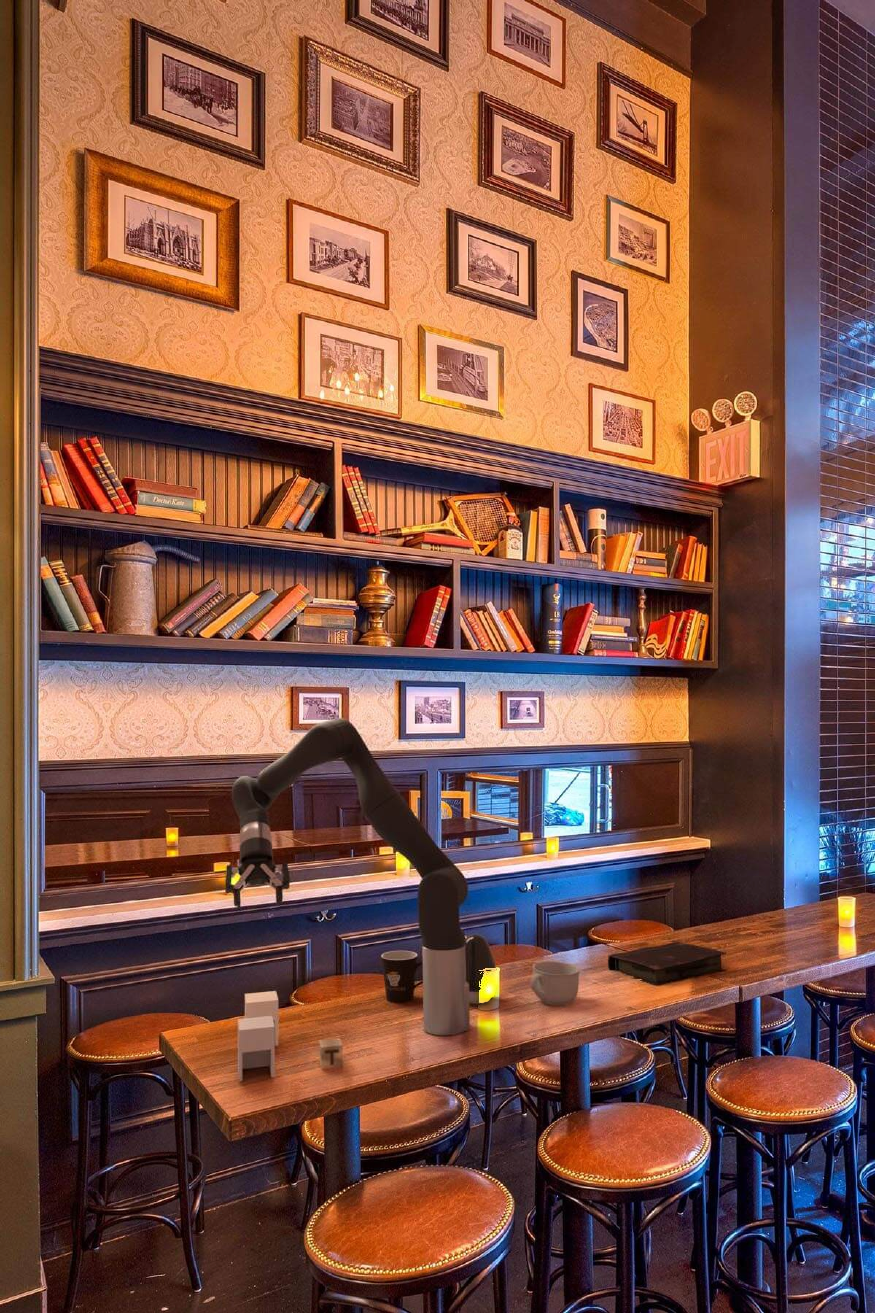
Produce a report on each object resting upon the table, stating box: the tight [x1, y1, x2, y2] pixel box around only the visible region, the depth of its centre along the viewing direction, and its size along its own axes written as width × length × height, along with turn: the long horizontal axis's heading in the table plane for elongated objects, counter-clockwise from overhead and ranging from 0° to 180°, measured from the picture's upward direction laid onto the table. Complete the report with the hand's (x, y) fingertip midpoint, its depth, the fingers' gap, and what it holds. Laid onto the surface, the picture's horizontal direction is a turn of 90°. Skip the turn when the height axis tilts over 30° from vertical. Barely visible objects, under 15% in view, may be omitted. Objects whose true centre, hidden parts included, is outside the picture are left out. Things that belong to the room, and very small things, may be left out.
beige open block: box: [244, 990, 279, 1047], centre depth 175 cm, size 6×6×9 cm
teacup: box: [529, 960, 580, 1007], centre depth 197 cm, size 14×11×8 cm
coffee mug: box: [380, 950, 423, 1004], centre depth 201 cm, size 12×9×10 cm
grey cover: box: [237, 1016, 276, 1082], centre depth 159 cm, size 6×6×9 cm
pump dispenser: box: [465, 933, 497, 1005], centre depth 200 cm, size 10×10×15 cm
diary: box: [607, 941, 728, 986], centre depth 222 cm, size 19×25×5 cm
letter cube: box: [318, 1038, 344, 1070], centre depth 162 cm, size 4×4×4 cm
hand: (258, 905), depth 188 cm, fingers open, 8 cm apart
